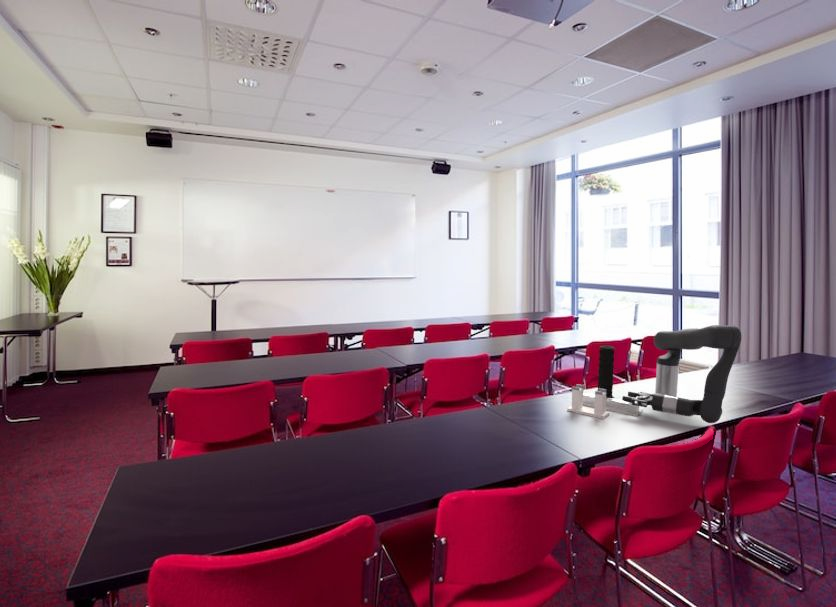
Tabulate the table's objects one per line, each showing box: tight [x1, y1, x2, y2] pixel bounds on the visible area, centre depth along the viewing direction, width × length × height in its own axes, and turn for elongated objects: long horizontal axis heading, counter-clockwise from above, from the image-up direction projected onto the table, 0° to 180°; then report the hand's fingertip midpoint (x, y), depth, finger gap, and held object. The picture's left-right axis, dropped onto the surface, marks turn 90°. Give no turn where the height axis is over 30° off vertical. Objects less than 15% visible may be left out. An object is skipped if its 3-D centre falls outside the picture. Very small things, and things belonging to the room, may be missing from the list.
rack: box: [567, 383, 610, 420], centre depth 200 cm, size 7×16×11 cm, turn 50°
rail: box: [583, 392, 640, 413], centre depth 208 cm, size 24×4×4 cm, turn 50°
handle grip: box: [596, 344, 616, 399], centre depth 220 cm, size 10×26×10 cm
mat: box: [583, 402, 644, 417], centre depth 209 cm, size 10×28×1 cm, turn 50°
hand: (625, 396), depth 203 cm, fingers open, 8 cm apart
